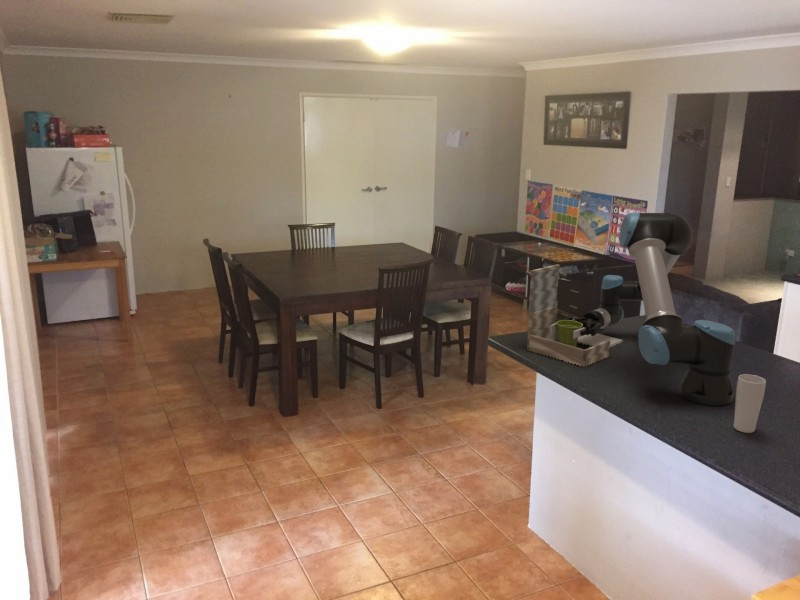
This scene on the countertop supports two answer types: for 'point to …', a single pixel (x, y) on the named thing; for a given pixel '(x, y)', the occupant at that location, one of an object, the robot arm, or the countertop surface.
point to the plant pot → (568, 331)
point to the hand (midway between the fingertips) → (562, 331)
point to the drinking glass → (748, 402)
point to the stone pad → (598, 340)
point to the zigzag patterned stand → (545, 315)
